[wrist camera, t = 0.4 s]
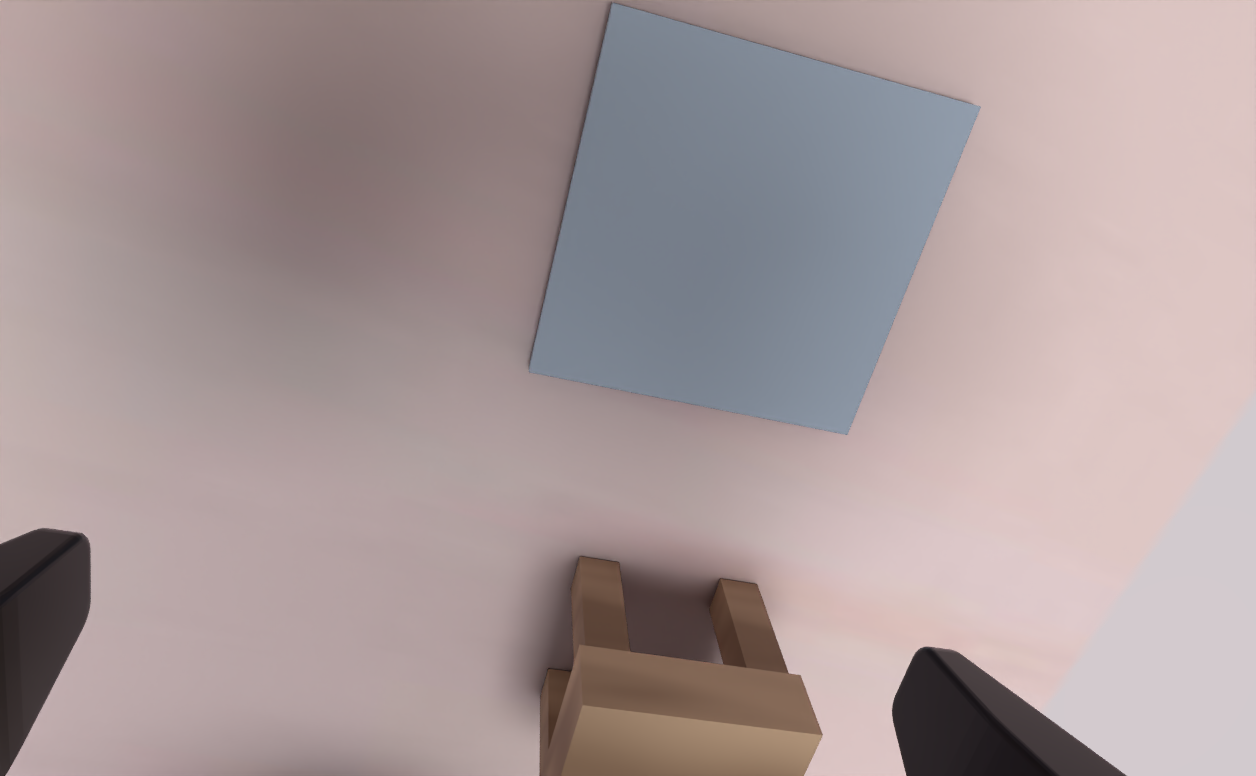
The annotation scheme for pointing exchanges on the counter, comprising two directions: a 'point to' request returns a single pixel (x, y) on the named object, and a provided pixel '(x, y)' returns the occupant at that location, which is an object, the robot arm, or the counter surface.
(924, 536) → the counter surface
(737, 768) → the stool
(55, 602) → the robot arm
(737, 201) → the pad
